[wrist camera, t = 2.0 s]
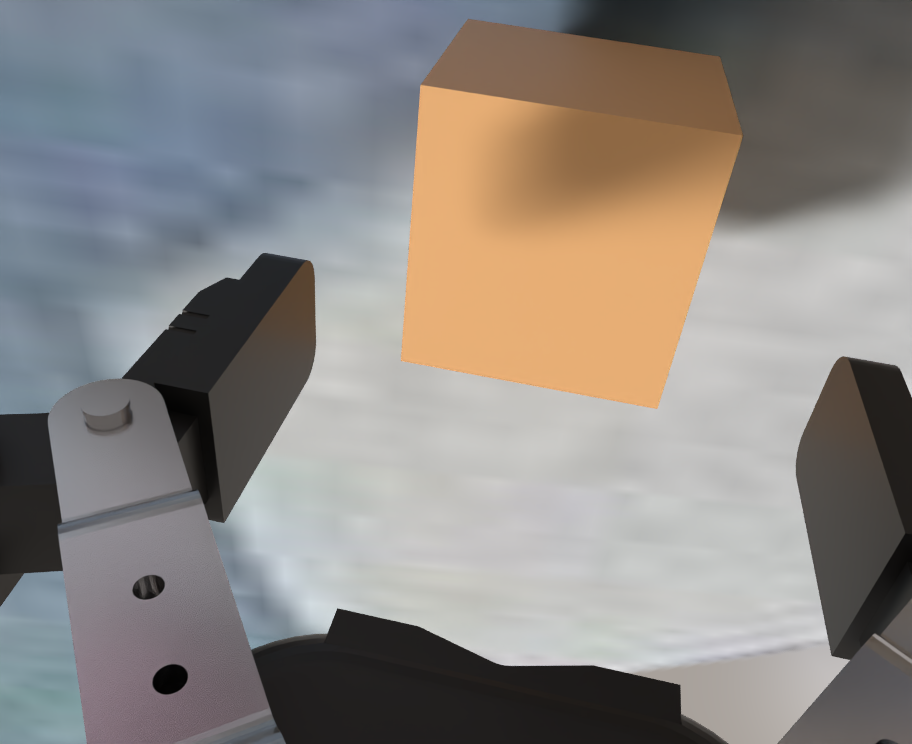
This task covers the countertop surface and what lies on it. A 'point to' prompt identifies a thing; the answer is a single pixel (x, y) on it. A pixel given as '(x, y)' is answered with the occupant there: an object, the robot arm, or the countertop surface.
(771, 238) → the countertop surface
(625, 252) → the plug
